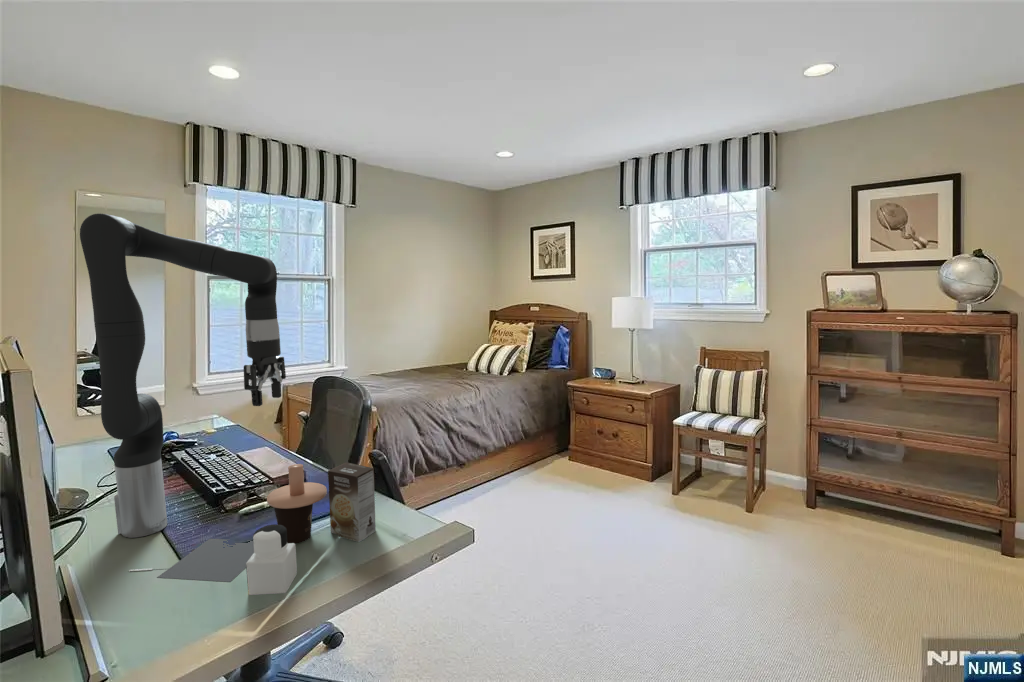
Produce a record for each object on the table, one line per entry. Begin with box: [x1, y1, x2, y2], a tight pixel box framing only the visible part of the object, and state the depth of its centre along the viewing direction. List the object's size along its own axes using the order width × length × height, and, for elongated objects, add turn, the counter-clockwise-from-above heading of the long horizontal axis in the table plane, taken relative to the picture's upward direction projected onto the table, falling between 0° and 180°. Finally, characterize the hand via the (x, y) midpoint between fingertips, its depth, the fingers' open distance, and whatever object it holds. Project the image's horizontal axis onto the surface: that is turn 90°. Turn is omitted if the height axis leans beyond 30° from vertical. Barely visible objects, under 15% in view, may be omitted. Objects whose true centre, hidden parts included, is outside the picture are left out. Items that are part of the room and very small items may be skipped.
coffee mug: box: [273, 503, 314, 545], centre depth 125 cm, size 12×9×10 cm
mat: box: [156, 538, 254, 583], centre depth 115 cm, size 16×16×1 cm
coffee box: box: [327, 461, 377, 543], centre depth 126 cm, size 9×6×16 cm
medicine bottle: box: [245, 524, 298, 596], centre depth 105 cm, size 7×7×12 cm
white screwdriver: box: [128, 568, 164, 572], centre depth 111 cm, size 1×19×1 cm, turn 96°
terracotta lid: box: [266, 463, 328, 509], centre depth 124 cm, size 13×13×7 cm
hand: (267, 401), depth 133 cm, fingers open, 8 cm apart
